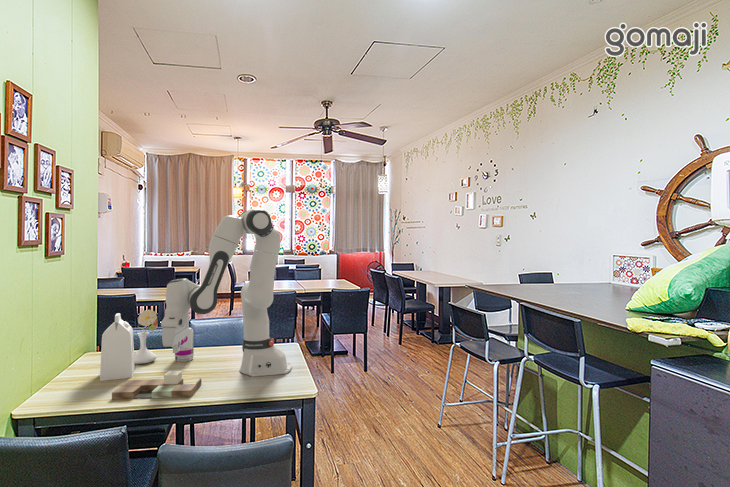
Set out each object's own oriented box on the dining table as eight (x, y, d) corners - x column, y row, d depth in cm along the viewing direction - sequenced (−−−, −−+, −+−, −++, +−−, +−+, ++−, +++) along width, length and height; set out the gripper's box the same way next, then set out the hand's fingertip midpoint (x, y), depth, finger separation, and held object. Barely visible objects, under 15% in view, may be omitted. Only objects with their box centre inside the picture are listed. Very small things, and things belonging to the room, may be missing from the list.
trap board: (201, 384, 169) (201, 378, 169) (191, 397, 156) (191, 390, 156) (128, 386, 166) (128, 379, 166) (111, 399, 153) (111, 392, 153)
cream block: (181, 379, 167) (181, 370, 167) (177, 384, 162) (177, 375, 162) (168, 379, 166) (168, 371, 166) (163, 384, 161) (163, 375, 161)
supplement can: (187, 362, 197) (187, 330, 197) (171, 361, 198) (171, 330, 198) (196, 357, 205) (196, 327, 205) (181, 356, 207) (181, 326, 206)
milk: (104, 372, 183) (104, 312, 183) (134, 368, 188) (134, 311, 187) (99, 381, 172) (99, 317, 172) (131, 377, 177) (131, 315, 176)
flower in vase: (123, 365, 193) (123, 311, 192) (141, 358, 204) (140, 306, 204) (148, 367, 191) (148, 312, 190) (165, 359, 202) (164, 307, 201)
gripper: (178, 313, 181) (177, 345, 181) (159, 323, 161) (158, 359, 161) (193, 313, 182) (192, 345, 182) (176, 323, 161) (175, 359, 161)
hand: (176, 352), depth 171 cm, fingers closed
